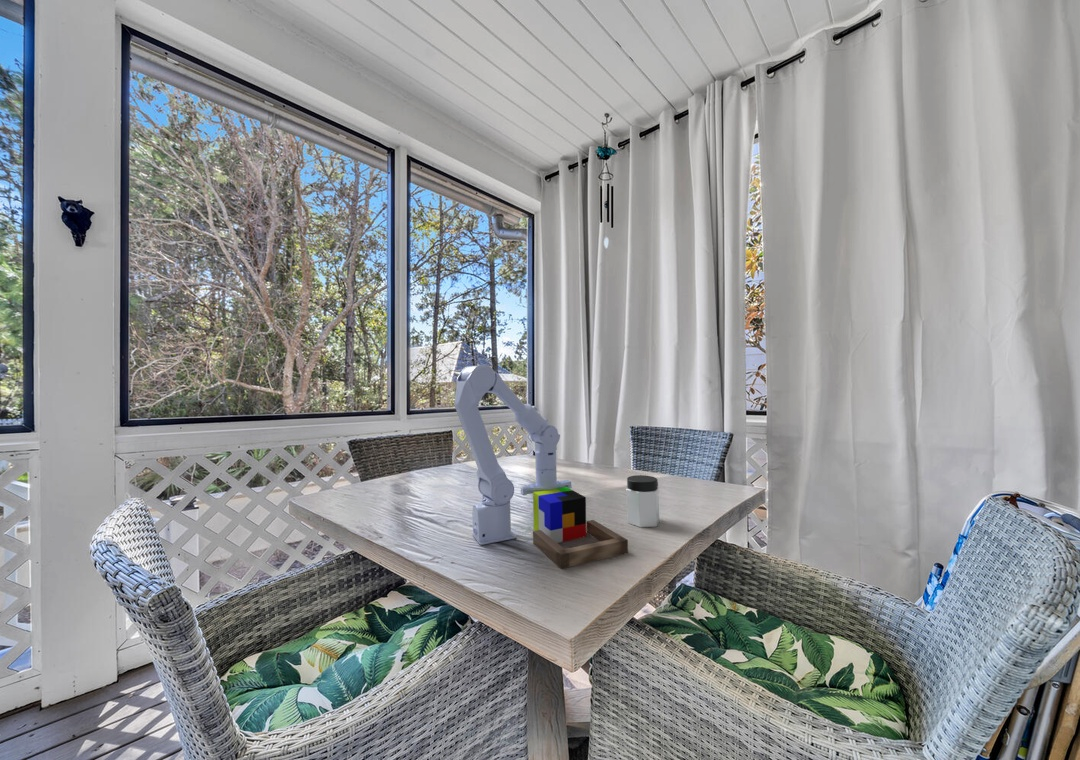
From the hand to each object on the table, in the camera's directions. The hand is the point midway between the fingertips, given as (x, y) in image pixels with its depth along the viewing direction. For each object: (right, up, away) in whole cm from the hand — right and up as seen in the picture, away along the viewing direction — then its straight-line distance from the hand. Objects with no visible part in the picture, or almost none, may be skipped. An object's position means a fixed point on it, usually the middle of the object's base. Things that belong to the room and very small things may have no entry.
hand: (547, 517), depth 113 cm
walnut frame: (+7, -2, -15) cm, 17 cm away
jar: (+26, -1, 0) cm, 26 cm away
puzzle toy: (+3, -2, -7) cm, 8 cm away
